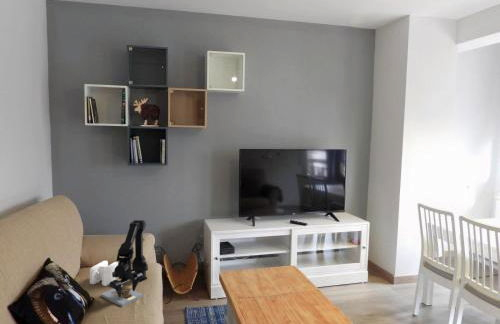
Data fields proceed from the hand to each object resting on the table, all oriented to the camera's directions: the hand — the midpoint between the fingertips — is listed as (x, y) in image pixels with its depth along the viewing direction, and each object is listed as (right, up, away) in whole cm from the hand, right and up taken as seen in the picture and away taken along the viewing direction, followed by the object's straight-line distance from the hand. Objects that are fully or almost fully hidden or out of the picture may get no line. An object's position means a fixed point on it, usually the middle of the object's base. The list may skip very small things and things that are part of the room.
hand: (126, 293), depth 199 cm
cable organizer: (-22, -1, +21) cm, 30 cm away
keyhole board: (-4, -3, +3) cm, 5 cm away
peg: (0, -3, 0) cm, 3 cm away
